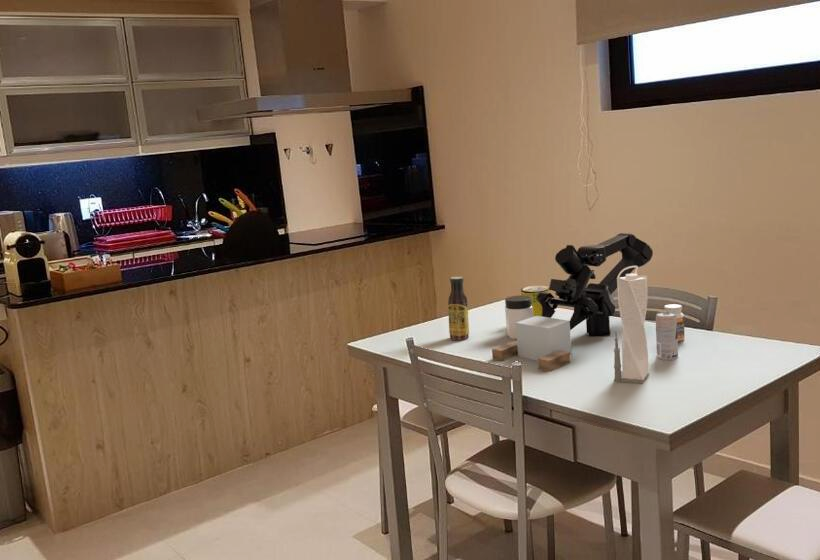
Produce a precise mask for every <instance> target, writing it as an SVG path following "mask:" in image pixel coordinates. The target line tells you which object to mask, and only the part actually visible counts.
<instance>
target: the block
mask: <svg viewBox="0 0 820 560" xmlns="http://www.w3.org/2000/svg"><path fill="white" fill-rule="evenodd" d="M516 333H517V339H516V342H517V347H518V355H517V356H518V357H521V358H525V359H529V360H534V361H538V359H539V358H541V357H544V356H546V355H549V354H551V353H554V352H556V351H559V350H561V351H566V352H570V356H572V355H573V354H572V339H571V337H572V336H571V330H570V320H568V319H559V318H554V317H551V318H548V317H542V316H534V317H531V318H528V319H525V320H522V321H519V322H517V323H516Z"/></svg>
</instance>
